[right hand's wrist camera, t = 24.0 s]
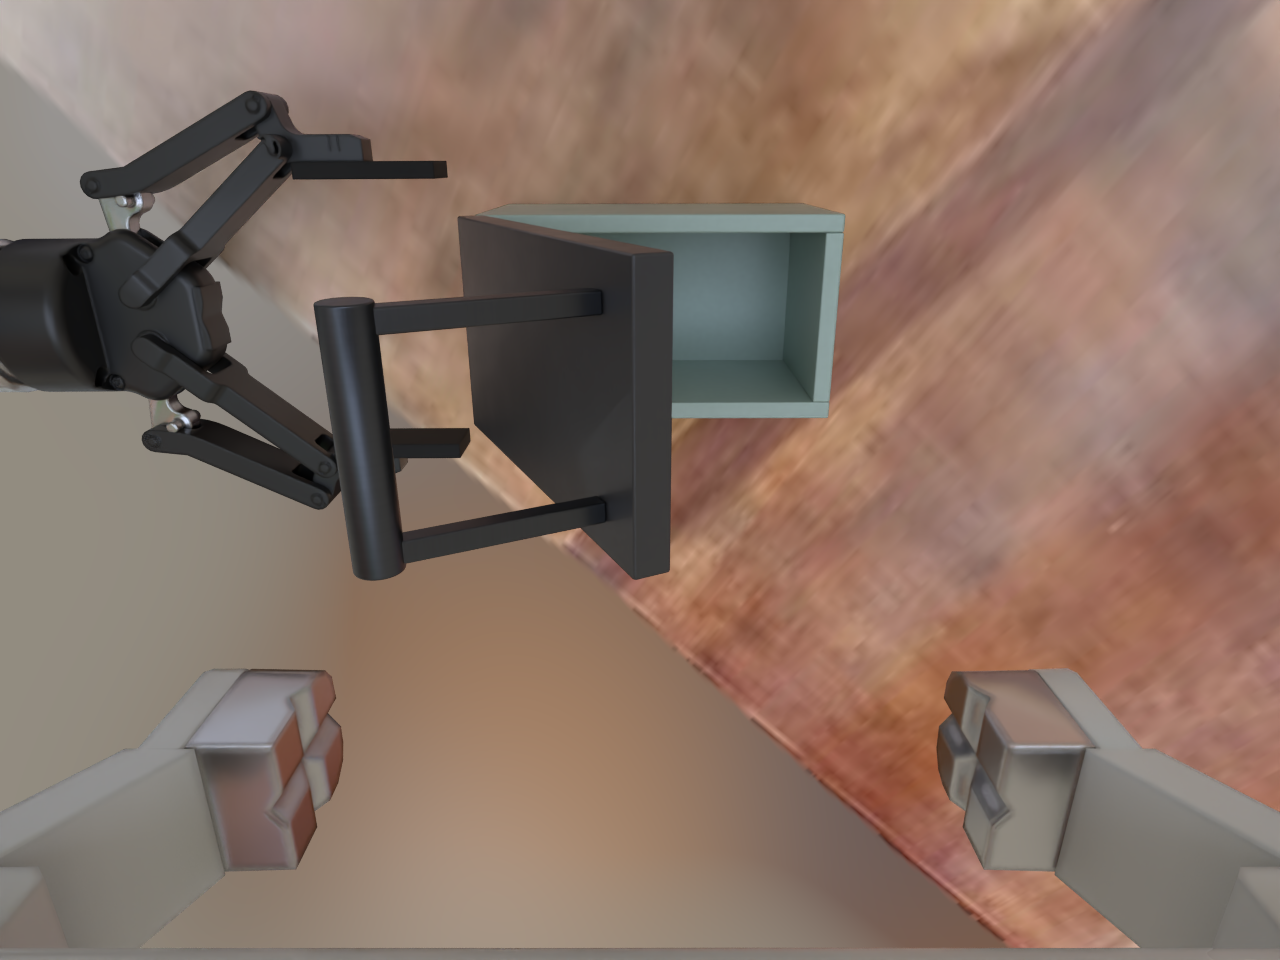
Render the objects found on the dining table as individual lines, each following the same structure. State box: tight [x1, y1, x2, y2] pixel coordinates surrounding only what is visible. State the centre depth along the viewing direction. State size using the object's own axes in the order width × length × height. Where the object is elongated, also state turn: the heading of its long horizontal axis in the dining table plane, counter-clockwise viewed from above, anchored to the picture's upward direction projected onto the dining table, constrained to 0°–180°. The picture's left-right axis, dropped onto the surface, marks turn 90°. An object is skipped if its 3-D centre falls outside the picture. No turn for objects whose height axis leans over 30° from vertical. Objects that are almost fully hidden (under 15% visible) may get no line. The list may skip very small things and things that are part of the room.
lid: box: [314, 215, 674, 581], centre depth 28 cm, size 17×9×9 cm
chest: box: [475, 203, 845, 418], centre depth 42 cm, size 16×9×10 cm, turn 90°
